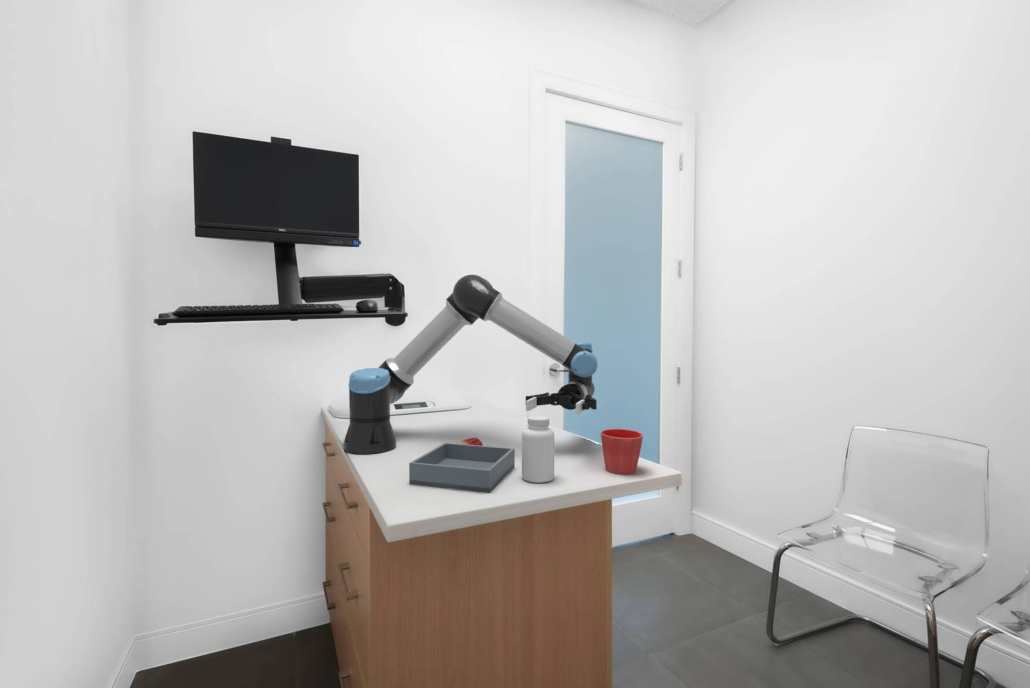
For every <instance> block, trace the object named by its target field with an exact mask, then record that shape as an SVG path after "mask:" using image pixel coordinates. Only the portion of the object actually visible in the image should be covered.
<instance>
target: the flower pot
mask: <svg viewBox="0 0 1030 688" xmlns="http://www.w3.org/2000/svg"><path fill="white" fill-rule="evenodd" d="M600 439H601V446H602V447H601V448H602V452H603V453H602V455H603V461H604V466H605V470H606V471H607V472H609V473H613V474H618V475H631V474H634V473H636V472H637V467H638V464H639V460H640V454H641V450H642V444H643V439H644V435H643V433H642V432H640V431H637V430H631V429H625V428H624V429H623V428H609V429H603V430H601V431H600Z"/></svg>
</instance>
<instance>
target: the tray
mask: <svg viewBox="0 0 1030 688" xmlns="http://www.w3.org/2000/svg"><path fill="white" fill-rule="evenodd" d="M515 452H516V448H514V447H513V448H512V447H501V446H490V445H489V446H488V445H483V446H478V445H466V444H459V443H453V442H452V443H451V442H444V443H441V444H440V445H438V446H436V447H434V448H433V449H431V450H429V451H428V452H426V453H424V454H423V455H420V456H419V457H417V458H415V459H413V460H412V461H411V462H409V463H408V465H409V467H408V469H409V471H408V473H409V475H408V477H409V478H408V479H409V481H408V483H409V485H416V486H424V487H425V486H426V487H433V488H444V489H454V490H461V491H462V490H463V491H470V492H481V493H489V494H491V492H492V491H493V490H494V489H495V488H496V487H497V486H498V485H499V484H500V483H501V482H502V481H503V480H504V479H505V478H506V477H507V475H509V474H510V473H511V472H512V470H513V469H514V468H515V466H516V464H515V461H516V460H515V458H516V457H515V456H516V455H515V454H516V453H515Z"/></svg>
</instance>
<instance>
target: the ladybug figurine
mask: <svg viewBox="0 0 1030 688" xmlns="http://www.w3.org/2000/svg"><path fill="white" fill-rule="evenodd" d="M458 444H466V445H478V446H484V445H483V442H482V440H481V439H479V438H477V437H469V438H465V439H463V440H462V441H460V442H459V443H458Z"/></svg>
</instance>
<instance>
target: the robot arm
mask: <svg viewBox="0 0 1030 688" xmlns="http://www.w3.org/2000/svg"><path fill="white" fill-rule="evenodd" d="M479 319H480V320H482V321H484V322H488V321H491V322H492V323H493V324H495V325H496V326H498V327H499V328H502V329H503V330H505V331H507V332H508V333H509V334H511V335H513V336H515V338H517V339H519V340H521V341H523V342H524V343H526V344H527V345H529V346H530V347H532V348H533V349H536V350H537V351H539V352H540V353H542V354H543V355H545V356H547V357H549V358H550V359H552V360H553V361H555V362H557V363H559V364H560V365H561V366H563V367H564V368H566V369H568V375H567V377H568V383H566V384H565V385H562V386H561V387H560V388H559V390H558V391H557V392H553V393H550V392H544V393H540V394H539V393H538V394H532V395H526V396H525V411H526V412H530V411H532V410H534V409H536V408H537V407H539V406H546V405H547V406H548V405H551V406H561V407H562V408H563V409H565V410H568V411H569V410H570V411H573V410H575V415H580V414H581V413H582V412H583V411H585V410H586V411H587V410H590V409H591V410H594V411H595V410H597V409H598V408H597V402H598V401H597V399H596V398H594V397H593V396H594V394H595V391H596V390H595V387H596V386H595V384H594V383H593V375H594V374H595V373H596V372H597V369H598V360H597V357H596V355H595V354H594V353H593V352H594V351H593V345H592V343H591V342H588V341H572V340H570V339H569V338H568V337H566V336H564V335H562V334H561V333H559V332H558V331H556V330H555V329H553V328H552V327H550V326H548V325H547V324H545V323H543V322H541V321H540V320H538V319H537V318H535V316H534V317H533V316H532V315H530V314H529V313H528V312H526V311H525V310H522V309H521V308H519V307H518V306H516V305H514V304H513V303H511V302H510V301H508V300H506V299H505V298H503V293H502V292H500V291H498V290H496V289H495V288H494V287H493V285H492V284H491V283H490V281H488V280H487V279H486V278H484V277H482V276H481V275H477V274H468V275H464V276H462V277H461V278H459V279H458V280H457V281H456V283H455V284H454V287H453V291H452V292H451V294H450V295H448V297H447V298H446V299H445V307H443V309H442V310H441V311H440V312H438V314H436V316H434V317H433V318H432V320H431V321H430V322H428V323H427V325H425V327H424V328H423V329H422V330H421V331H420V332H419V333H417V335H415V337H413V339H412V340H411V341H410V342H409V343H408V344H407V345H406V346H405V347H404V348H403V349H402V350H401V351H399V353H398V354H397V355H396V356H395V357H391V358H390V357H387V358H386V359H385V360H384V361H383V362H382V364H380V365H379V366H378V367H367V368H363V369H362V368H361V369H357V370H354V371H353V372H351V373H350V375H349V381H348V395H349V396H348V398H349V399H348V401H349V403H348V404H349V405H348V406H349V408H348V409H349V424H348V428H347V431H346V434H345V438H344V439H343V451H345V452H346V453H348V454H349V453H350V454H357V455H366V454H367V455H370V454H371V455H372V454H380V453H384V452H388V451H392V450H394V449H395V448H396V447H397V438H396V436H395V431H394V429H393V426H392V424H391V404H393V403H396V402H398V401H399V400H400V399H401V398H402V397H403V396H404V394H405V392H406V391H407V390H409V388H410V387H411V386H412V385H413V384H414V381H415V379H414V378H415V376H416V375H417V374H418V373H419V372H420V370H422V368H423V367H425V366H426V364H428V363H429V362H430V361H431V360H432V358H433V357H435V356H436V355H437V353H439V351H441V350H442V348H443V347H444V346H446V345H447V344H448V343H449V342H450V341H451V340H452V339H453V338H454V337H455V336H456V335H457V334H458V333H459V332H460V330H462V329H463V327H465V326H472V325H473V324H474V323H475V322H476V321H477V320H479Z"/></svg>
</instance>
